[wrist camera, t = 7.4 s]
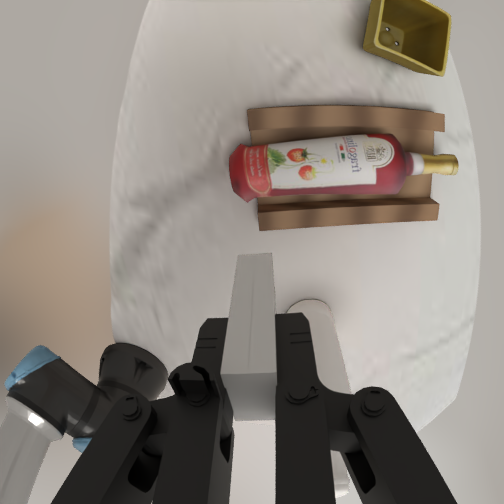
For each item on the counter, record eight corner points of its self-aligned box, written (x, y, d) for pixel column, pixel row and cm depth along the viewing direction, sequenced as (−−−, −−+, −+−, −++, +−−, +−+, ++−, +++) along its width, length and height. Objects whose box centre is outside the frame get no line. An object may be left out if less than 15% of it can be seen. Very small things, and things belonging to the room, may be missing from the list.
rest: (259, 221, 40) (259, 231, 37) (248, 109, 33) (246, 109, 30) (426, 212, 38) (437, 220, 35) (431, 111, 31) (444, 113, 28)
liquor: (240, 213, 36) (448, 201, 32) (226, 191, 29) (474, 179, 25) (238, 161, 38) (435, 153, 34) (225, 131, 30) (455, 126, 27)
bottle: (301, 291, 45) (327, 485, 19) (340, 308, 46) (385, 483, 20) (275, 324, 48) (279, 502, 22) (314, 339, 50) (336, 503, 24)
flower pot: (408, 80, 29) (445, 78, 21) (348, 57, 29) (373, 45, 21) (417, 27, 25) (452, 15, 17) (358, 2, 25) (383, -20, 17)
